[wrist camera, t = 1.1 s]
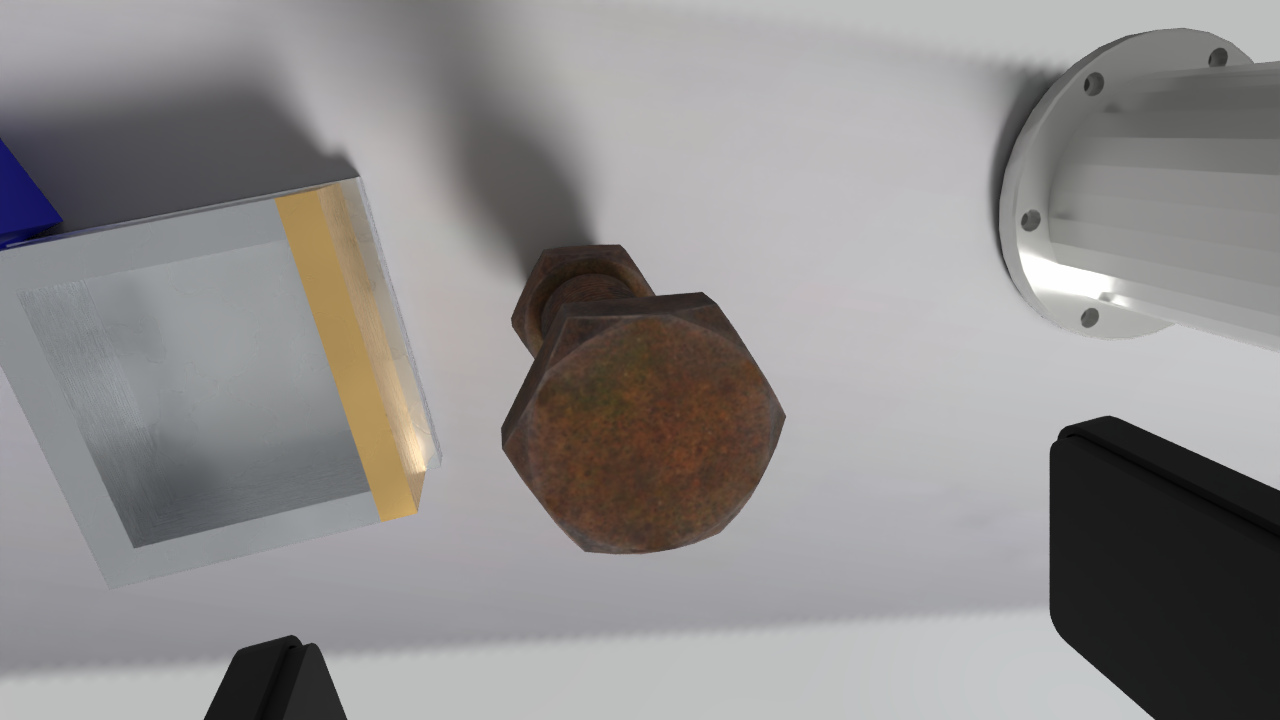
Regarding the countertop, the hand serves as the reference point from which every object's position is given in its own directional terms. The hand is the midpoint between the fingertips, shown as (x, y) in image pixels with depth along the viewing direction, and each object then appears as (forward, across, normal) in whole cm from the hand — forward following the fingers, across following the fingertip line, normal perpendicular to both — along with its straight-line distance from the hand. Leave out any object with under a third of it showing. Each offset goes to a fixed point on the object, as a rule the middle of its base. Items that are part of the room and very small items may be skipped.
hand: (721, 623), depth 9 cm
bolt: (+21, -1, 0) cm, 21 cm away
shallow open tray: (+21, +11, 0) cm, 24 cm away
